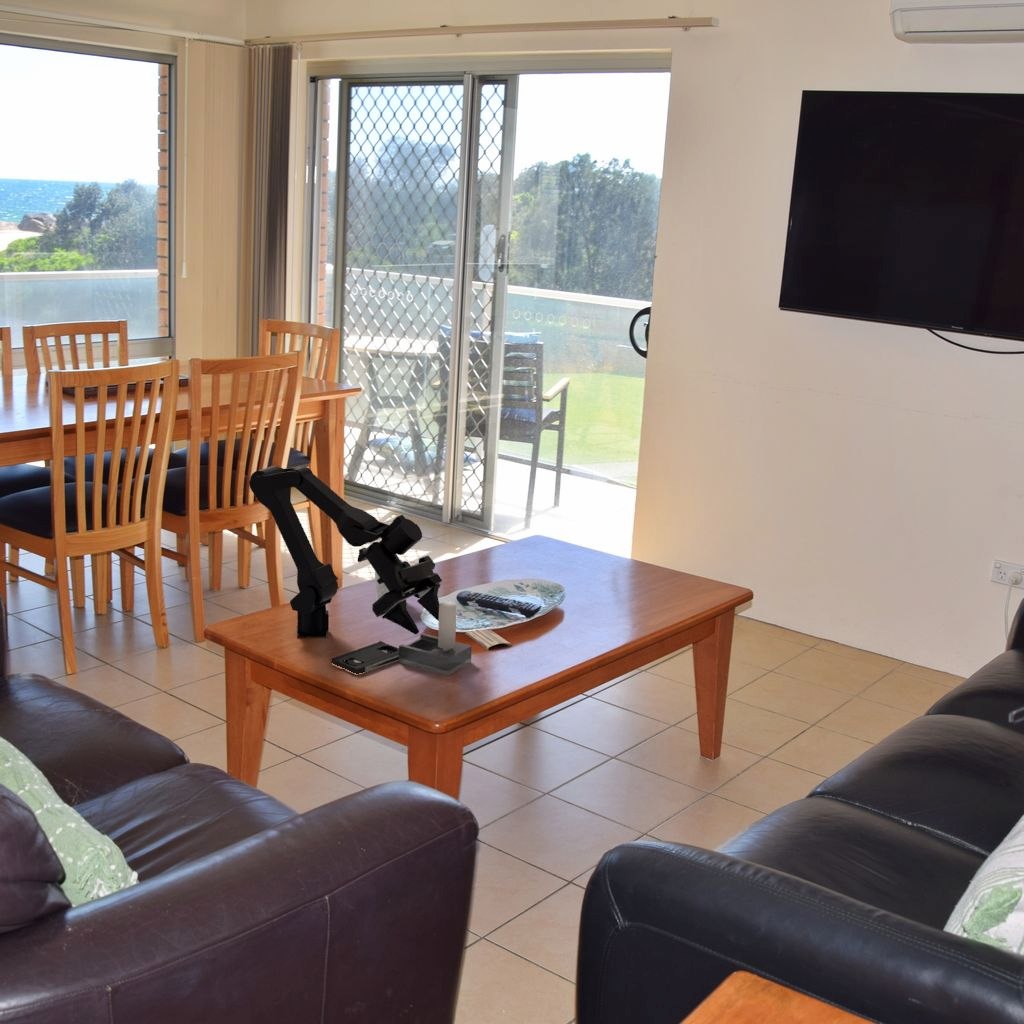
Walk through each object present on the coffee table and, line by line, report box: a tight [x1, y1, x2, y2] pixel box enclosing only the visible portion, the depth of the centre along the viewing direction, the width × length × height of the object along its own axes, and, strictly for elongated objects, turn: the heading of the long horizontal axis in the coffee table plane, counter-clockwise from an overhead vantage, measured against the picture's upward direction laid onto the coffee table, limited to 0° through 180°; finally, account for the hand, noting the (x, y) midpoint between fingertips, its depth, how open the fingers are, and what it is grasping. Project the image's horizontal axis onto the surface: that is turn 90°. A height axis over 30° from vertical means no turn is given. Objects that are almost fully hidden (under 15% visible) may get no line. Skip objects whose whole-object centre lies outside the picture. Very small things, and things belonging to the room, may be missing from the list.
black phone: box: [330, 641, 399, 674], centre depth 251 cm, size 14×8×2 cm, turn 140°
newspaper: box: [464, 629, 512, 650], centre depth 272 cm, size 24×7×2 cm, turn 30°
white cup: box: [374, 559, 406, 602], centre depth 286 cm, size 8×8×10 cm
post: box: [437, 601, 457, 652], centre depth 249 cm, size 5×5×12 cm
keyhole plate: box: [398, 633, 473, 677], centre depth 252 cm, size 12×9×4 cm
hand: (430, 627), depth 251 cm, fingers open, 9 cm apart
